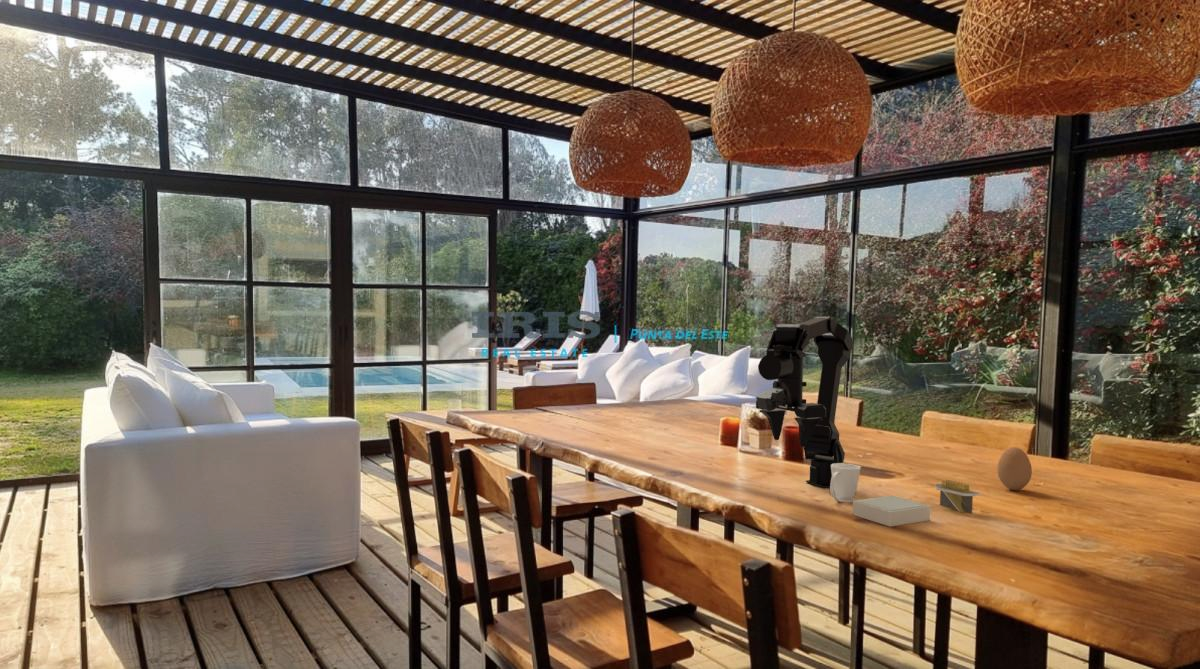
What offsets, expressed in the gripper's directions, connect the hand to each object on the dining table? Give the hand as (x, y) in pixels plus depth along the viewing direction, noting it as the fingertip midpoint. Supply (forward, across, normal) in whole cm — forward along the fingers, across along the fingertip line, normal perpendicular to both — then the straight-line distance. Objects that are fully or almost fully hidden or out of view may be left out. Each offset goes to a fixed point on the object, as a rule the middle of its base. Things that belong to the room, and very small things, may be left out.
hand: (789, 443), depth 174 cm
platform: (+14, +23, +28) cm, 39 cm away
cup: (+13, +7, +10) cm, 18 cm away
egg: (+14, +14, +60) cm, 63 cm away
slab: (+13, +22, +9) cm, 27 cm away
